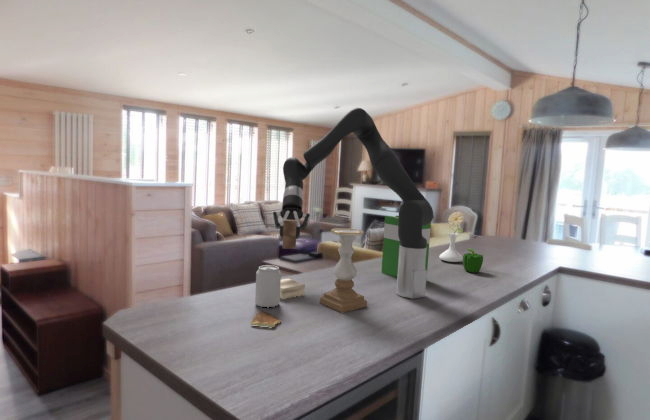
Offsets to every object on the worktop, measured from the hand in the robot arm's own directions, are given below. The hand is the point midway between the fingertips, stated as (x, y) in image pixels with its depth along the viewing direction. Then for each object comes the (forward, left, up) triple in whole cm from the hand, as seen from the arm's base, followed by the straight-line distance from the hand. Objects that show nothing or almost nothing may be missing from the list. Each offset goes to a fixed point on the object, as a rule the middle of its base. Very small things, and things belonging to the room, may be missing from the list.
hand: (289, 237), depth 148 cm
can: (-16, +15, -18) cm, 28 cm away
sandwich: (-28, +22, -18) cm, 40 cm away
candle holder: (-25, -7, -18) cm, 32 cm away
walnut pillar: (+2, -1, -4) cm, 5 cm away
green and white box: (-5, -50, -18) cm, 54 cm away
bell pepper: (-10, -86, -18) cm, 89 cm away
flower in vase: (+8, -93, -18) cm, 96 cm away
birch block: (-8, +5, -18) cm, 20 cm away
